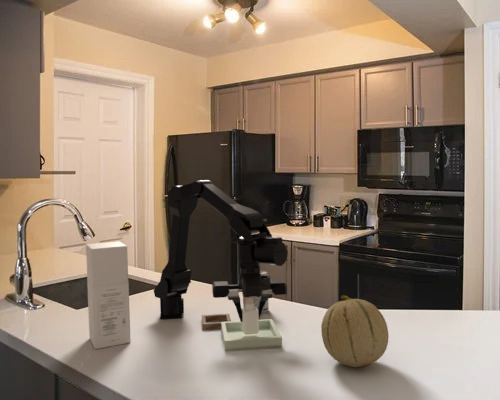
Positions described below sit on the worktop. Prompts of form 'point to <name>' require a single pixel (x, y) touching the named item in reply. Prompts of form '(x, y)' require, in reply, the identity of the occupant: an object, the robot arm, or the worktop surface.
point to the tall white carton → (108, 294)
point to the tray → (250, 336)
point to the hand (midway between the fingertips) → (249, 320)
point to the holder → (213, 318)
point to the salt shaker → (249, 316)
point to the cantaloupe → (354, 332)
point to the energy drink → (266, 306)
